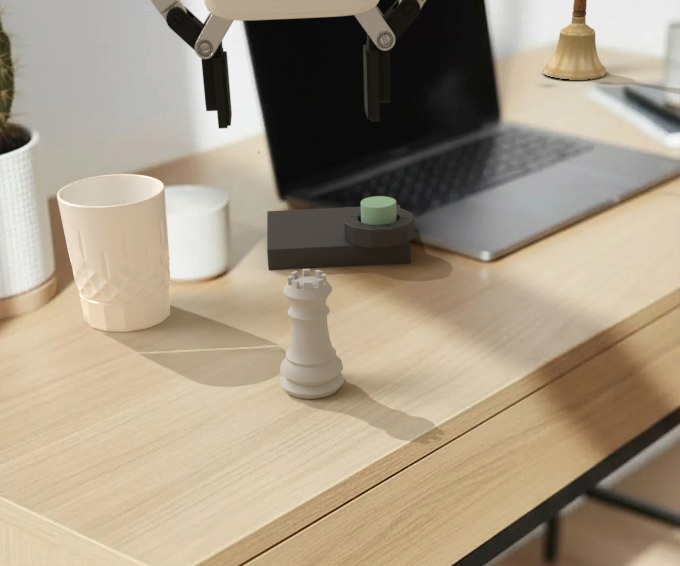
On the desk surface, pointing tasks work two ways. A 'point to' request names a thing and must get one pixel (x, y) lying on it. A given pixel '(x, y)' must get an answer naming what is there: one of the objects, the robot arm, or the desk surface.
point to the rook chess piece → (310, 339)
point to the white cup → (118, 249)
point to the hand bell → (576, 50)
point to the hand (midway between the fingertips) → (298, 118)
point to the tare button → (378, 210)
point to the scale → (336, 239)
